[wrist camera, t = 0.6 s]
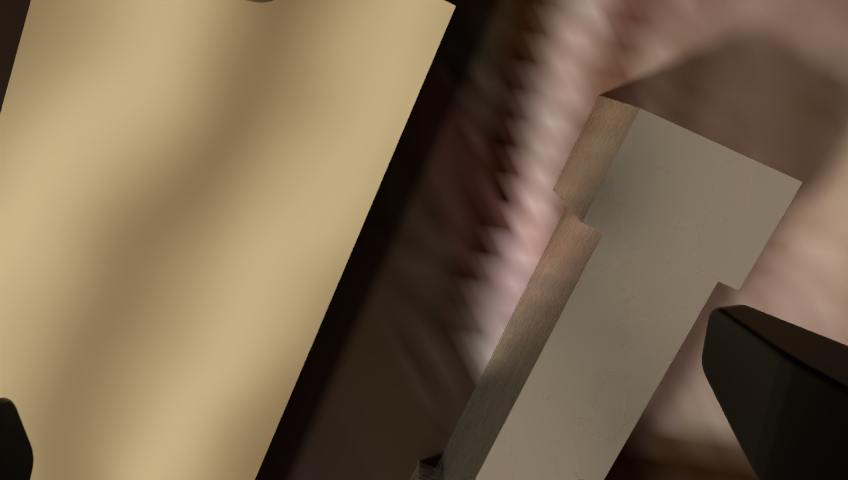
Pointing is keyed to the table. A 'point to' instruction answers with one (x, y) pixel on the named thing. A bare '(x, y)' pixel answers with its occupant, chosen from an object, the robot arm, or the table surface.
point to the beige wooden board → (187, 216)
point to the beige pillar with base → (612, 296)
